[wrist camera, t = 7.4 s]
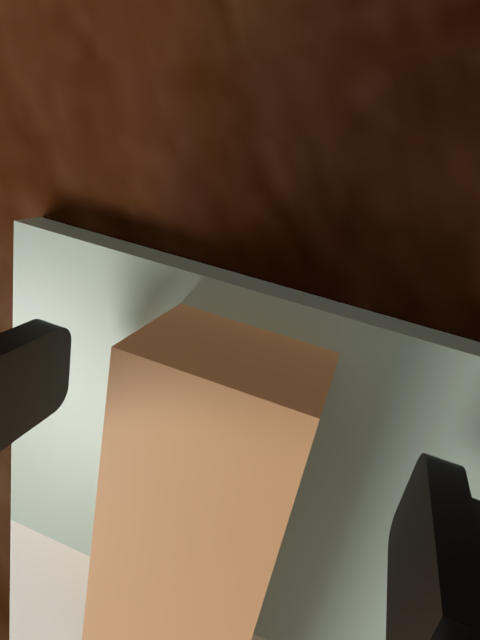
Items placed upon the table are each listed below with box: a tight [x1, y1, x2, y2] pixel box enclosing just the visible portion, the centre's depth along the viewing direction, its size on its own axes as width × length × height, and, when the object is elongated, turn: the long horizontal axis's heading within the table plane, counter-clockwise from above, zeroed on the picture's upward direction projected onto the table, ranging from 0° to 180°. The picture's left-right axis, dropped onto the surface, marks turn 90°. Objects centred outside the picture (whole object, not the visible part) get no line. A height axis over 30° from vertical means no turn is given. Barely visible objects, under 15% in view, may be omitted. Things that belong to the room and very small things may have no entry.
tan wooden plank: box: [82, 303, 340, 640], centre depth 12 cm, size 4×12×3 cm, turn 169°
